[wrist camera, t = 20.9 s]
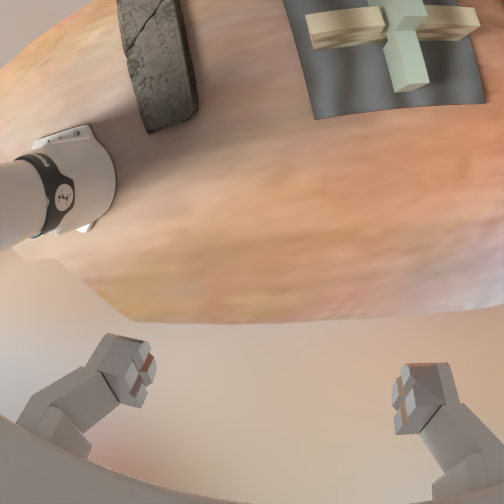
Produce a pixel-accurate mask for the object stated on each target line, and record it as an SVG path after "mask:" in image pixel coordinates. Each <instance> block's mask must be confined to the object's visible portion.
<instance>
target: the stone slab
mask: <svg viewBox="0 0 504 504" xmlns="http://www.w3.org/2000/svg"><path fill="white" fill-rule="evenodd" d="M117 9H118V20H119V27H120V33H121V38H122V44H123V49H124V52H125V55H126V57H127V66H128V70H129V75H130V78H131V82H132V86H133V89H134V93H135V96H136V99H137V102H138V106H139V110H140V114H141V117H142V120H143V123H144V126H145V128H146V131H147V133H148V134H150V133H153V132H155V131H157V130H160V129H162V128H165V127H168V126H171V125H175V124H179V123H182V122H185V121H187V120H189V119H190V118H191V117H192V115H193V114H194V113H195V112H196V111H198V95H197V90H196V80H195V75H194V69H193V64H192V60H191V56H190V52H189V47H188V40H187V35H186V28H185V24H184V20H183V15H182V11H181V7H180V2H179V0H117Z"/></svg>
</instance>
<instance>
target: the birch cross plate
mask: <svg viewBox="0 0 504 504" xmlns="http://www.w3.org/2000/svg"><path fill="white" fill-rule="evenodd" d="M422 1H423V4H424V7H425V9H426V12H427V15H428V16H427V17H426V18H425V20H424V21H423V22H422V23H421V24H420V25H419V26H418V28H417V29H416V30H415V32H416V35H417V38H418V42H419V45H420V48H421V52H422V55H423V59H424V62H425V66H426V70H427V74H428V78H429V82H430V83H428V84H426V85H424V86H422V87H420V88H418V89H416V90H413V91H408V92H396V93H394V89H393V84H392V80H391V76H390V72H389V69H388V65H387V61H386V58H385V54H384V50H383V48H384V46H385V45H386V43H387V42H388V39H387V35H386V32H385V29H384V27H385V23H384V20H383V17H382V14H381V11H380V9H379V6H373V7H369V4H368V2H367V0H283V3H284V6H285V9H286V12H287V16H288V19H289V22H290V26H291V29H292V33H293V36H294V40H295V43H296V47H297V50H298V54H299V58H300V61H301V65H302V69H303V73H304V77H305V81H306V85H307V89H308V93H309V97H310V101H311V106H312V110H313V114H314V119H315V120H317V119H323V118H329V117H336V116H342V115H349V114H356V113H364V112H372V111H380V110H390V109H400V108H411V107H423V106H438V105H460V104H485V103H486V101H485V96H484V91H483V86H482V82H481V78H480V74H479V70H478V66H477V62H476V58H475V55H474V51H473V48H472V45H471V41H470V38H469V35H468V34H469V33H471V32H473V31H474V30H476V29H477V28H479V27H480V23H479V20H478V17H477V15H476V12H475V9H474V8H470V7H458V4H457V2H456V0H422Z"/></svg>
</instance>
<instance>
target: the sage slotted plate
mask: <svg viewBox="0 0 504 504" xmlns="http://www.w3.org/2000/svg"><path fill="white" fill-rule="evenodd" d="M367 2H368V4H369V7H373V6H379V9H380V11H381V14H382V17H383V20H384V23H385V27H384V29H385V32H386V35H387V39H388V42H387V43H386V45H385V46H384V48H383V50H384V54H385V58H386V61H387V65H388V69H389V72H390V76H391V80H392V84H393V89H394V93H396V92H408V91H413V90H416V89H418V88H420V87H422V86H424V85H426V84H428V83H430V82H429V78H428V74H427V70H426V66H425V62H424V59H423V55H422V52H421V48H420V45H419V42H418V38H417V35H416V32H415V30H416V29H417V28H418V26H419V25H420V24H421V23H422V22H423V21H424V20H425V18H426V17H427V16H428V15H427V12H426V9H425V7H424V4H423V1H422V0H367Z"/></svg>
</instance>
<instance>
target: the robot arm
mask: <svg viewBox="0 0 504 504" xmlns="http://www.w3.org/2000/svg"><path fill="white" fill-rule="evenodd" d="M79 132H80V134H79ZM115 186H116V179H115V171H114V167H113V163H112V161H111V158H110V156H109V154H108V153H107V151H106V150H105V149H104V147H103V146H102V145H101V144H100V143H99V142H98V141H97V140H96V139H95V137H94V135H93V132H92V130H91V128H90V127H89V126H88V125H82V126H78V127H75V128H72V129H68V130H65V131H62V132H59V133H56V134H53V135H50V136H47V137H44V138H41V139H38V140H36V141H35V142H34V143H33V146H32V149H31V151H28V152H25V153H23V154H22V155H21V156H20V157H18V158H16V159H15V160H14V161H12V162H7V163H3V164H0V253H2V252H4V251H5V250H7V249H9V248H11V247H13V246H14V245H16V244H18V243H20V242H22V241H24V240H26V239H28V238H36V237H40V236H43V235H46V234H47V233H49V232H51V233H54V234H55V235H61V234H64V233H67V232H70V231H72V230H75V229H76V230H78V231H80V232H82V233H85V232H88V231H89V230H90V229H91V227H92V225H93V223H94V222H95V220H97V219H98V218H100V217H101V216H102V215H104V214H105V213H106V211H107V210H108V209H109V207H110V205H111V203H112V201H113V198H114V194H115ZM150 349H151V347H150V345H149V343H148V342H146V341H142V340H137V339H133V338H128V337H124V336H120V335H115V334H111V333H107V334H106V335H104V336H103V338H102V340H101V342H100V343H99V345H98V346H97V348H96V349H95V351H94V352H93V354H92V356H91V358H90V359H89V361H88V362H87V364H86V366H85V367H79V368H78V369H76V370H74V371H73V372H71V373H69V374H68V375H66V376H64V377H63V378H61V379H59V380H57V381H56V382H54V383H53V384H51V385H49V386H47V387H46V388H44V389H42V390H40V391H39V392H37V393H35V394H34V395H32V397H31V398H30V400H29V401H28V403H27V405H26V406H25V408H24V410H23V411H22V413H21V415H20V417H19V418H18V420H17V422H16V423H14V422H13V421H11V420H9V419H7V418H6V417H4V416H3V415H1V414H0V504H249V503H241V502H235V501H229V500H223V499H217V498H212V497H207V496H202V495H198V494H193V493H188V492H184V491H180V490H177V489H173V488H168V487H165V486H162V485H158V484H155V483H151V482H148V481H145V480H141V479H138V478H135V477H132V476H129V475H126V474H124V473H121V472H118V471H115V470H112V469H109V468H107V467H104V466H102V465H99V464H97V463H94V462H92V461H90V460H87V457H88V455H89V453H90V450H91V448H92V444H91V442H90V441H89V440H88V439H87V438H86V437H85V436H84V435H83V433H85V432H86V431H87V430H89V429H90V428H91V427H92V426H94V425H95V424H96V423H97V422H98V421H100V420H101V419H102V418H103V417H105V416H106V415H107V414H108V413H110V412H111V411H112V410H113V409H114V408H116V407H117V406H118V405H119V403H121V404H125V405H129V406H133V407H138V408H141V407H142V405H143V403H144V400H145V398H146V396H147V394H148V393H147V389H146V387H147V386H148V385H149V384H151V383H152V382H153V379H154V377H155V373H156V361H155V358H154V357H153V356H152V355H151V354H150V353H149V351H150ZM392 405H393V407H394V408H395V409H396V410H397V411H398V412H397V413H396V415H395V416H394V424H395V434H396V435H404V434H419V436H420V438H421V439H422V441H423V442H424V443H425V445H426V446H427V448H428V449H429V451H430V452H431V453H432V455H433V456H434V458H435V459H436V461H437V462H438V464H439V465H440V467H441V468H442V470H443V471H444V472H445V474H444V475H443V476H442V477H440V478H439V479H438V480H436V481H435V482H434V483H433V484H432V496H433V500H431V501H426V502H419V503H412V504H504V445H503V444H502V443H501V442H500V440H499V439H498V438H497V437H496V436H495V435H494V434H493V433H492V432H491V431H490V430H489V429H488V428H487V427H486V426H485V425H484V424H483V422H482V421H481V420H480V419H479V418H478V417H477V416H476V415H475V414H474V413H473V412H472V411H471V410H470V409H469V408H468V407H467V406H466V405H465V404H464V403H461V404H460V401H459V397H458V393H457V389H456V386H455V382H454V379H453V375H452V372H451V369H450V365H449V364H448V363H446V362H445V363H411V364H405V365H403V367H402V369H401V376H400V377H399V378H397V379H396V381H395V383H394V385H393V390H392Z"/></svg>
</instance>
